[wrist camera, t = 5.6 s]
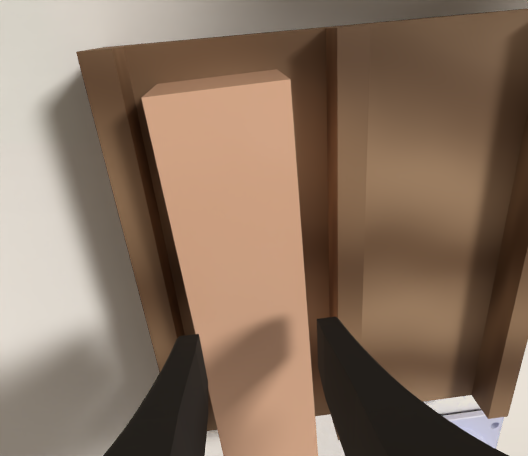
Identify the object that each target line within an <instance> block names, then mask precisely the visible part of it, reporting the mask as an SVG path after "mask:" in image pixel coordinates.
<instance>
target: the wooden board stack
mask: <svg viewBox="0 0 528 456" xmlns="http://www.w3.org/2000/svg"><path fill="white" fill-rule="evenodd" d="M76 53H77V56H78V60H79V64H80V68H81V72H82V76H83V79H84V83H85V87H86V91H87V95H88V99H89V103H90V106H91V110H92V114H93V118H94V122H95V126H96V129H97V133H98V137H99V141H100V145H101V149H102V152H103V156H104V160H105V164H106V168H107V172H108V175H109V179H110V183H111V187H112V191H113V195H114V199H115V202H116V206H117V210H118V214H119V218H120V222H121V225H122V229H123V233H124V237H125V241H126V245H127V248H128V252H129V256H130V260H131V264H132V268H133V272H134V275H135V279H136V283H137V287H138V291H139V295H140V298H141V302H142V306H143V310H144V314H145V318H146V321H147V325H148V329H149V333H150V337H151V341H152V344H153V348H154V352H155V356H156V360H157V364H158V368H159V371H160V372H161V370H162V368H163V366H164V364H165V362H166V360H167V359H168V357H169V354H170V352H171V350H172V348H173V346H174V344H175V342H176V339H177V338H178V337H179V336H185V335H193V334H196V333H195V329H194V325H193V320H192V316H191V312H190V307H189V303H188V299H187V294H186V290H185V286H184V281H183V277H182V272H181V268H180V264H179V259H178V255H177V251H176V246H175V242H174V238H173V233H172V229H171V225H170V220H169V216H168V212H167V207H166V203H165V199H164V194H163V190H162V185H161V181H160V177H159V172H158V168H157V164H156V159H155V155H154V151H153V146H152V142H151V138H150V133H149V129H148V125H147V120H146V116H145V112H144V107H143V103H142V98H141V97H143V96H144V95H145V94H146V93H147V92H148V91H150V90H151V89H152V88H153V87H154V86H155V85H156V84H160V83H169V82H177V81H185V80H193V79H201V78H210V77H218V76H226V75H234V74H242V73H250V72H259V71H267V70H275V69H277V70H279V71H280V72H281V73H283V74H284V75H285V76H287V77H288V78H289V79H290V81H291V95H292V109H293V122H294V136H295V149H296V163H297V177H298V190H299V204H300V218H301V231H302V245H303V259H304V272H305V286H306V300H307V313H308V327H309V341H310V354H311V368H312V382H313V395H314V409H315V416H320V415H327V414H331V413H330V411H329V408H328V405H327V402H326V399H325V395H324V391H323V387H322V383H321V378H320V374H319V369H318V351H317V319H320V318H327V317H335V316H336V317H337V318H338V319H339V320H340V321H341V322H342V324H343V325H344V326H345V327H346V329H347V330H348V331H349V332H350V333H351V335H352V336H353V337H354V338H355V339H356V340H357V341H358V342H359V344H360V345H361V346H362V347H363V348H364V349H365V350H366V351H367V352H368V353H369V354H370V355H371V356H372V357H373V358H374V359H375V360H376V361H377V362H378V363H379V364H380V365H381V366H382V367H383V368H384V369H385V370H386V371H387V372H388V373H389V374H390V375H391V376H392V377H393V378H395V379H396V380H397V381H398V382H399V383H400V384H401V385H402V386H404V387H405V388H406V389H407V390H408V391H410V392H411V393H412V394H413V395H415V396H416V397H417V398H418V399H420V400H421V401H430V400H437V399H444V398H452V397H459V396H466V395H472V396H473V398H474V399H475V401H476V402H477V404H478V405H479V406H480V408H481V409H482V411H483V412H484V414H485V415H486V417H487V418H488V419H492V418H499V417H507V416H508V413H509V409H510V405H511V402H512V398H513V394H514V390H515V386H516V382H517V379H518V375H519V371H520V367H521V363H522V359H523V355H524V352H525V348H526V344H527V340H528V9H519V10H508V11H497V12H486V13H475V14H464V15H453V16H442V17H431V18H420V19H409V20H398V21H387V22H376V23H365V24H354V25H344V26H333V27H322V28H311V29H300V30H289V31H278V32H267V33H256V34H245V35H234V36H223V37H212V38H201V39H190V40H179V41H169V42H158V43H147V44H136V45H125V46H114V47H103V48H97V49H91V50H85V51H79V52H76ZM332 420H333V419H332ZM333 423H334V422H333ZM334 427H335V425H334ZM210 430H217V425H216V420H215V416H214V412H213V407H212V403H211V399H210V394H209V390H208V424H207V431H210ZM335 430H336V428H335ZM336 434H337V437H338V440H340V439H339V436H338V433H337V431H336Z"/></svg>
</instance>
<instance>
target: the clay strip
mask: <svg viewBox="0 0 528 456" xmlns="http://www.w3.org/2000/svg"><path fill="white" fill-rule="evenodd" d="M141 98H142V103H143V107H144V112H145V116H146V120H147V125H148V129H149V133H150V138H151V142H152V146H153V151H154V155H155V159H156V164H157V168H158V172H159V177H160V181H161V185H162V190H163V194H164V199H165V203H166V207H167V212H168V216H169V220H170V225H171V229H172V233H173V238H174V242H175V246H176V251H177V255H178V259H179V264H180V268H181V272H182V277H183V281H184V286H185V290H186V294H187V299H188V303H189V307H190V312H191V316H192V320H193V325H194V329H195V333H196V334H199V337H200V342H201V347H202V353H203V358H204V363H205V368H206V373H207V378H208V390H209V394H210V399H211V403H212V407H213V412H214V416H215V420H216V425H217V429H218V433H219V438H220V442H221V447H222V451H223V455H224V456H318V450H317V436H316V423H315V409H314V395H313V382H312V368H311V354H310V341H309V327H308V313H307V300H306V286H305V272H304V259H303V245H302V231H301V218H300V204H299V190H298V177H297V163H296V149H295V136H294V122H293V109H292V95H291V81H290V79H289V78H288V77H287V76H285V75H284V74H283V73H281V72H280V71H279V70H277V69H275V70H267V71H259V72H250V73H242V74H234V75H226V76H218V77H210V78H201V79H193V80H185V81H177V82H169V83H160V84H156V85H155V86H154V87H153V88H152V89H151V90H150V91H148V92H147V93H146V94H145V95H144V96H143V97H141Z"/></svg>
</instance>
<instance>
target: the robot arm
mask: <svg viewBox="0 0 528 456" xmlns="http://www.w3.org/2000/svg"><path fill="white" fill-rule="evenodd" d="M317 351H318V369H319V374H320V378H321V383H322V387H323V391H324V395H325V399H326V402H327V405H328V408H329V411H330V413H331V416H332V419H333V422H334V425H335V428H336V431H337V433H338V436H339V439H340V442H341V445H342V447H343V450H344V453H345V456H508V455H506V454H504V453H502V452H500V451H498V450H497V449H496V447H497V443H498V439H499V435H500V431H501V427H502V423H503V419H504V417H499V418H492V419H488V418H487V417H486V415H485V414H484V412H483V411H482V410H480V411H473V412H466V413H458V414H451V415H444V416H441V415H440V414H438V413H437V412H436V411H434V410H433V409H432V408H430V407H429V406H427V405H426V404H425V403H423V402H422V401H421V400H420V399H418V398H417V397H416V396H415V395H413V394H412V393H411V392H410V391H408V390H407V389H406V388H405V387H404V386H402V385H401V384H400V383H399V382H398V381H397V380H396V379H395V378H393V377H392V376H391V375H390V374H389V373H388V372H387V371H386V370H385V369H384V368H383V367H382V366H381V365H380V364H379V363H378V362H377V361H376V360H375V359H374V358H373V357H372V356H371V355H370V354H369V353H368V352H367V351H366V350H365V349H364V348H363V347H362V346H361V345H360V344H359V342H358V341H357V340H356V339H355V338H354V337H353V336H352V335H351V333H350V332H349V331H348V330H347V329H346V327H345V326H344V325H343V324H342V322H341V321H340V320H339V319H338V318H337V317H336V316H335V317H327V318H320V319H317ZM207 424H208V378H207V373H206V368H205V363H204V358H203V353H202V347H201V342H200V337H199V334H193V335H185V336H179V337H178V338H177V339H176V342H175V344H174V346H173V348H172V350H171V352H170V354H169V357H168V359H167V360H166V362H165V364H164V366H163V368H162V370H161V372H160V374H159V375H158V377H157V379H156V381H155V382H154V384H153V386H152V388H151V389H150V391H149V393H148V394H147V396H146V397H145V399H144V401H143V402H142V404H141V405H140V407H139V408H138V410H137V411H136V413H135V414H134V416H133V417H132V419H131V420H130V422H129V423H128V425H127V426H126V427H125V429H124V430H123V431H122V433H121V434H120V435H119V437H118V438H117V439H116V441H115V442H114V443H113V444H112V446H111V447H110V448H109V449H108V451H107V452H106V453H105V454H104V455H103V456H204V454H205V444H206V434H207Z"/></svg>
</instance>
